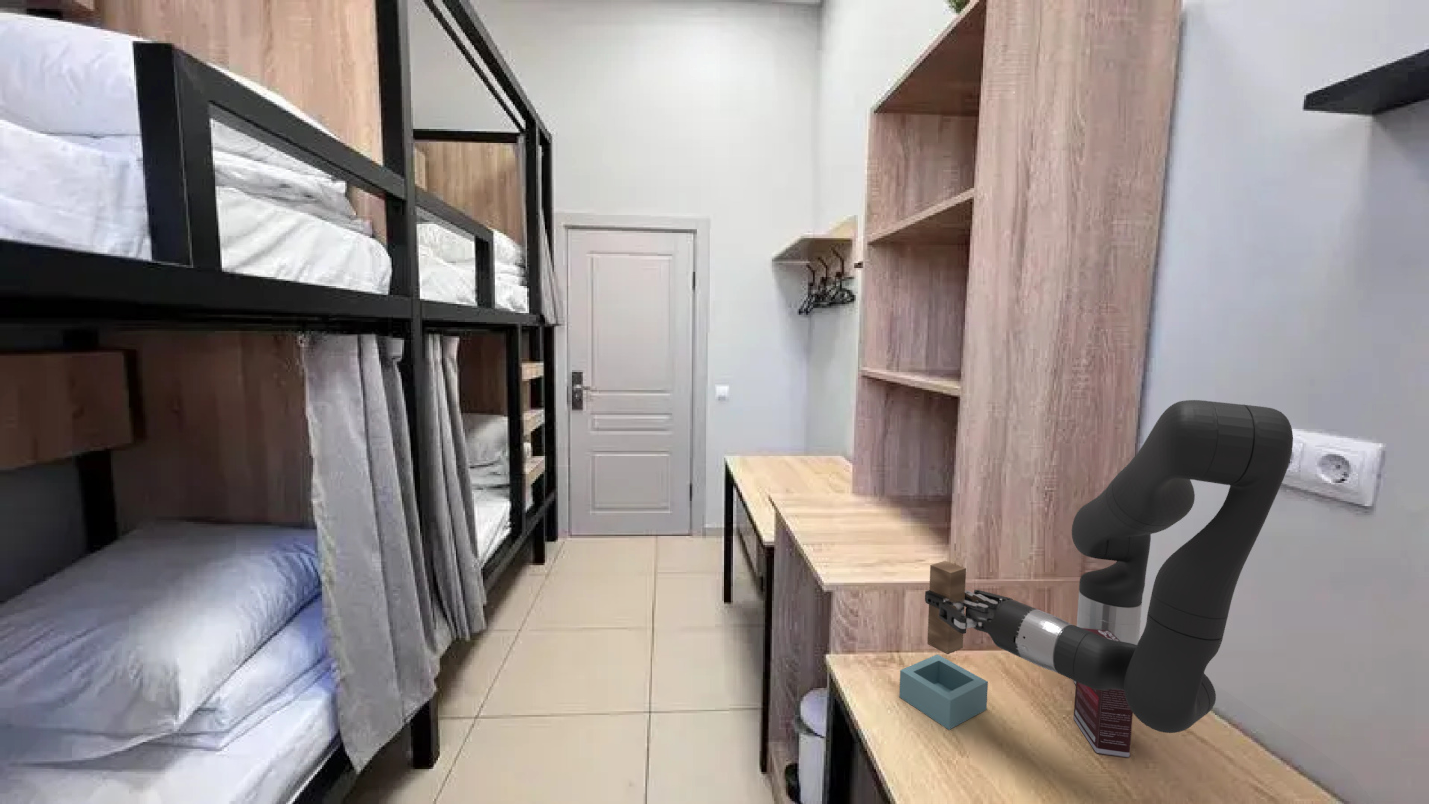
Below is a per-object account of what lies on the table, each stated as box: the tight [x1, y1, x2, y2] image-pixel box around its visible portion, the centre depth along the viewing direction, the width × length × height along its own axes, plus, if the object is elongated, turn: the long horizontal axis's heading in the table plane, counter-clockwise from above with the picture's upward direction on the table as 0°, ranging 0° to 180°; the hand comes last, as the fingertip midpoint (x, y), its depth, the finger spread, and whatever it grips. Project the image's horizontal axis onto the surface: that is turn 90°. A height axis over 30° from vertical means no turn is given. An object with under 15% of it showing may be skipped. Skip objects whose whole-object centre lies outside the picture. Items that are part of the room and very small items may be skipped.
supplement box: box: [1073, 628, 1134, 758], centre depth 88 cm, size 9×5×16 cm, turn 168°
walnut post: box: [927, 560, 967, 655], centre depth 96 cm, size 4×4×14 cm
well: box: [898, 653, 989, 731], centre depth 97 cm, size 10×10×5 cm
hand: (935, 593), depth 97 cm, fingers closed on walnut post, 4 cm apart
